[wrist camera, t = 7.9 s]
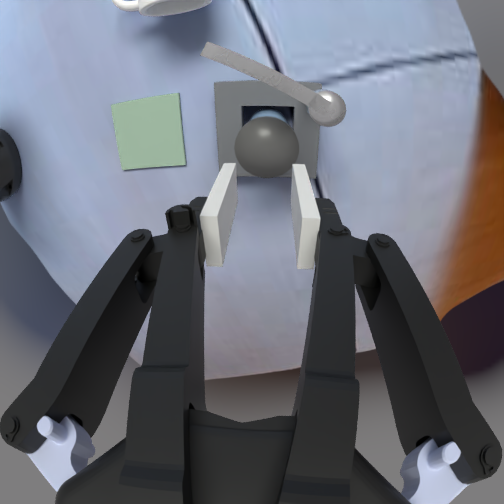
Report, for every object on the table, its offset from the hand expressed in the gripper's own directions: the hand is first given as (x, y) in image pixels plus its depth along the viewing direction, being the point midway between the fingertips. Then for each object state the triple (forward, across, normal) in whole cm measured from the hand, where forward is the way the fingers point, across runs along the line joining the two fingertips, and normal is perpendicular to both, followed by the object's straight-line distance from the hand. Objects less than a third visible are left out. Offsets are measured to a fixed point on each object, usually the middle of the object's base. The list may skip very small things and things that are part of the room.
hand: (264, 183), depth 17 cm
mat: (+19, -16, 0) cm, 25 cm away
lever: (+6, +1, +6) cm, 9 cm away
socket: (+19, 0, 0) cm, 19 cm away
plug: (+19, 0, 0) cm, 19 cm away
